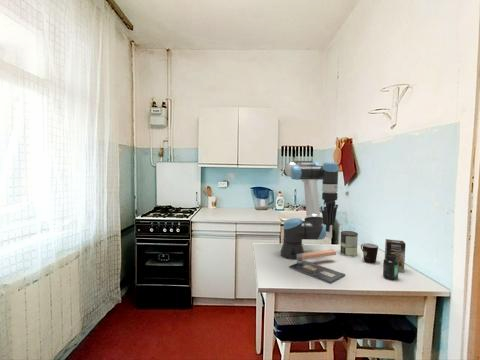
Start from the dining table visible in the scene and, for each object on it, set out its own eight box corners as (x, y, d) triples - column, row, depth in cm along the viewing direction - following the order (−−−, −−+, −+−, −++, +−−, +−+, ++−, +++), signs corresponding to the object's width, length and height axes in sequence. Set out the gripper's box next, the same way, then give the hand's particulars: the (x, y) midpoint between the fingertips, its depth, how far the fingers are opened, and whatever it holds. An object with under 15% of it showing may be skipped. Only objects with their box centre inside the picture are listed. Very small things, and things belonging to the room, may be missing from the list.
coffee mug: (379, 264, 156) (380, 248, 155) (363, 263, 157) (364, 247, 157) (373, 258, 167) (374, 242, 166) (359, 257, 169) (359, 241, 168)
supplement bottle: (399, 281, 134) (400, 257, 133) (384, 279, 136) (385, 256, 135) (395, 275, 140) (396, 253, 140) (381, 274, 142) (382, 252, 142)
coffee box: (385, 270, 147) (386, 241, 146) (383, 266, 153) (385, 238, 152) (404, 273, 144) (405, 243, 143) (402, 268, 150) (403, 240, 149)
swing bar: (299, 260, 151) (299, 256, 151) (294, 258, 155) (295, 253, 155) (336, 255, 160) (336, 251, 160) (331, 253, 164) (331, 248, 164)
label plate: (289, 267, 151) (289, 261, 151) (304, 262, 160) (304, 255, 160) (330, 283, 131) (330, 276, 131) (345, 276, 140) (345, 269, 140)
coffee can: (337, 254, 174) (338, 232, 173) (344, 250, 181) (344, 230, 181) (353, 258, 167) (353, 235, 166) (359, 254, 174) (360, 232, 173)
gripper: (329, 193, 130) (328, 241, 132) (343, 191, 139) (342, 236, 140) (316, 192, 136) (315, 238, 138) (330, 190, 145) (329, 233, 146)
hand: (328, 237), depth 139 cm, fingers closed
